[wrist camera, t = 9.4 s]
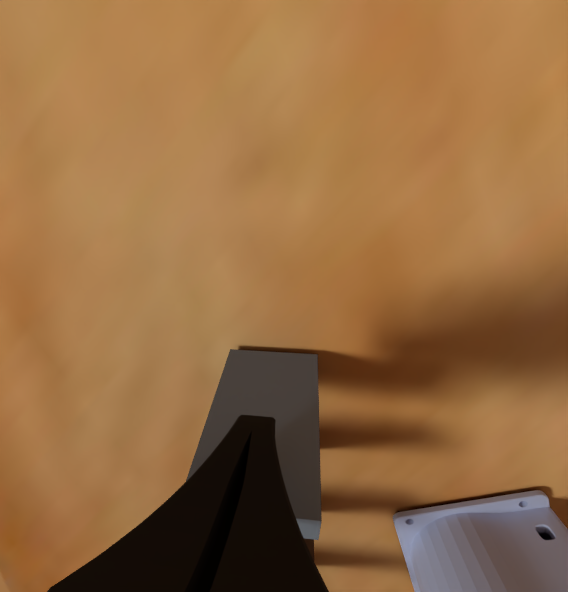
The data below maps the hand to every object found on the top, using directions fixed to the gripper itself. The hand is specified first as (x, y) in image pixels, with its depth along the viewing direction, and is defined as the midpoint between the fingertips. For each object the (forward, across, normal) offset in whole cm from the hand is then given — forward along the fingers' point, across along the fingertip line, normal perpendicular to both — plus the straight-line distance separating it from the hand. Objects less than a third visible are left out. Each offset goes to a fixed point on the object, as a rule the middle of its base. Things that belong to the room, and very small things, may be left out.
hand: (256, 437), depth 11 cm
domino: (+6, 0, 0) cm, 6 cm away
